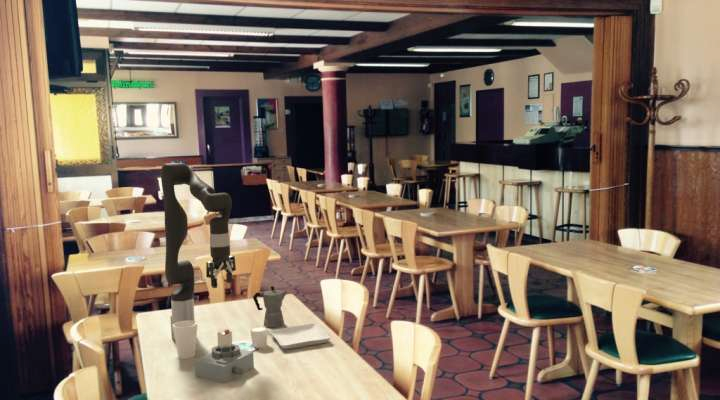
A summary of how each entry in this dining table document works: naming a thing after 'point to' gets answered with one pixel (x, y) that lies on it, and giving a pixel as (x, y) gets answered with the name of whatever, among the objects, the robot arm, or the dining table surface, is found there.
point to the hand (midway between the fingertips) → (222, 285)
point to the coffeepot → (271, 307)
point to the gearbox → (224, 364)
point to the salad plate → (300, 336)
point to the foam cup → (185, 338)
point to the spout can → (224, 341)
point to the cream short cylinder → (259, 337)
